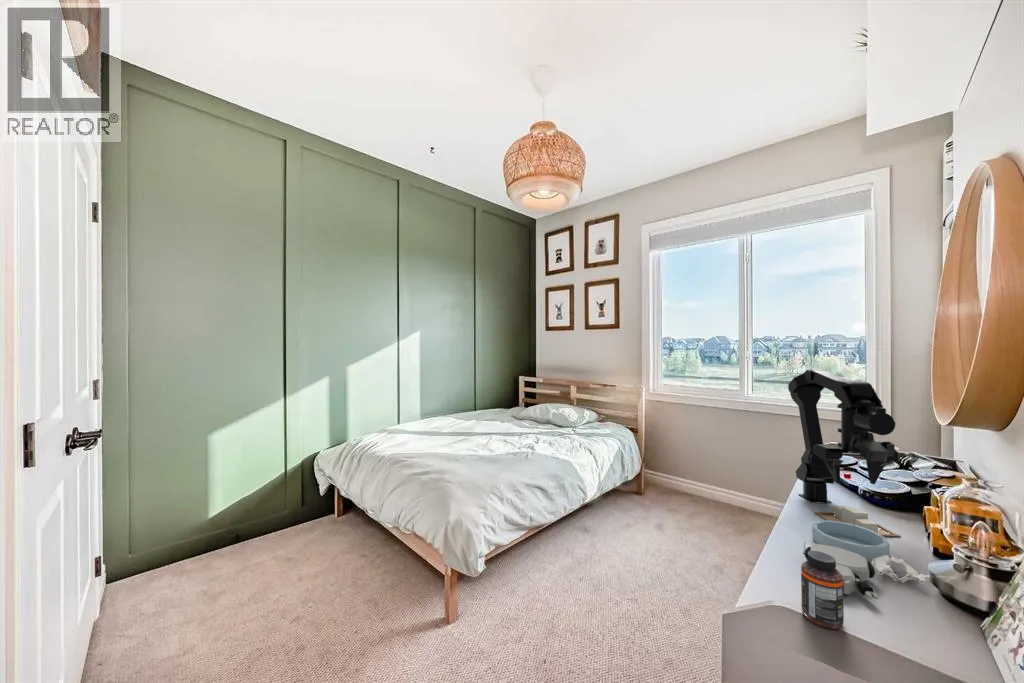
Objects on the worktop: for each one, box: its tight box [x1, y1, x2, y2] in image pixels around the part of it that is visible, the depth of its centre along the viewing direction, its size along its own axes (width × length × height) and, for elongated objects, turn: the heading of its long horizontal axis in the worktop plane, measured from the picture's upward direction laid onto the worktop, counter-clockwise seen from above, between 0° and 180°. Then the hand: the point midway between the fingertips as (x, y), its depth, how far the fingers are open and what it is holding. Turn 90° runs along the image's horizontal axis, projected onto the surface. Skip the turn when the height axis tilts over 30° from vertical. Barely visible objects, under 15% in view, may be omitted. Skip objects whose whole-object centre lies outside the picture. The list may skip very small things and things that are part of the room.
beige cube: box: [842, 506, 869, 525], centre depth 109 cm, size 4×4×4 cm
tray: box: [813, 511, 902, 539], centre depth 109 cm, size 14×12×1 cm
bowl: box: [811, 519, 891, 562], centre depth 96 cm, size 14×14×4 cm
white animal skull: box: [870, 555, 927, 585], centre depth 84 cm, size 8×4×7 cm
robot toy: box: [802, 540, 879, 600], centre depth 83 cm, size 12×4×15 cm
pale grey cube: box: [855, 518, 879, 533], centre depth 104 cm, size 3×3×3 cm
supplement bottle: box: [800, 551, 845, 630], centre depth 71 cm, size 6×6×11 cm
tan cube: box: [833, 505, 848, 519], centre depth 113 cm, size 3×3×3 cm
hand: (854, 483), depth 109 cm, fingers open, 9 cm apart
